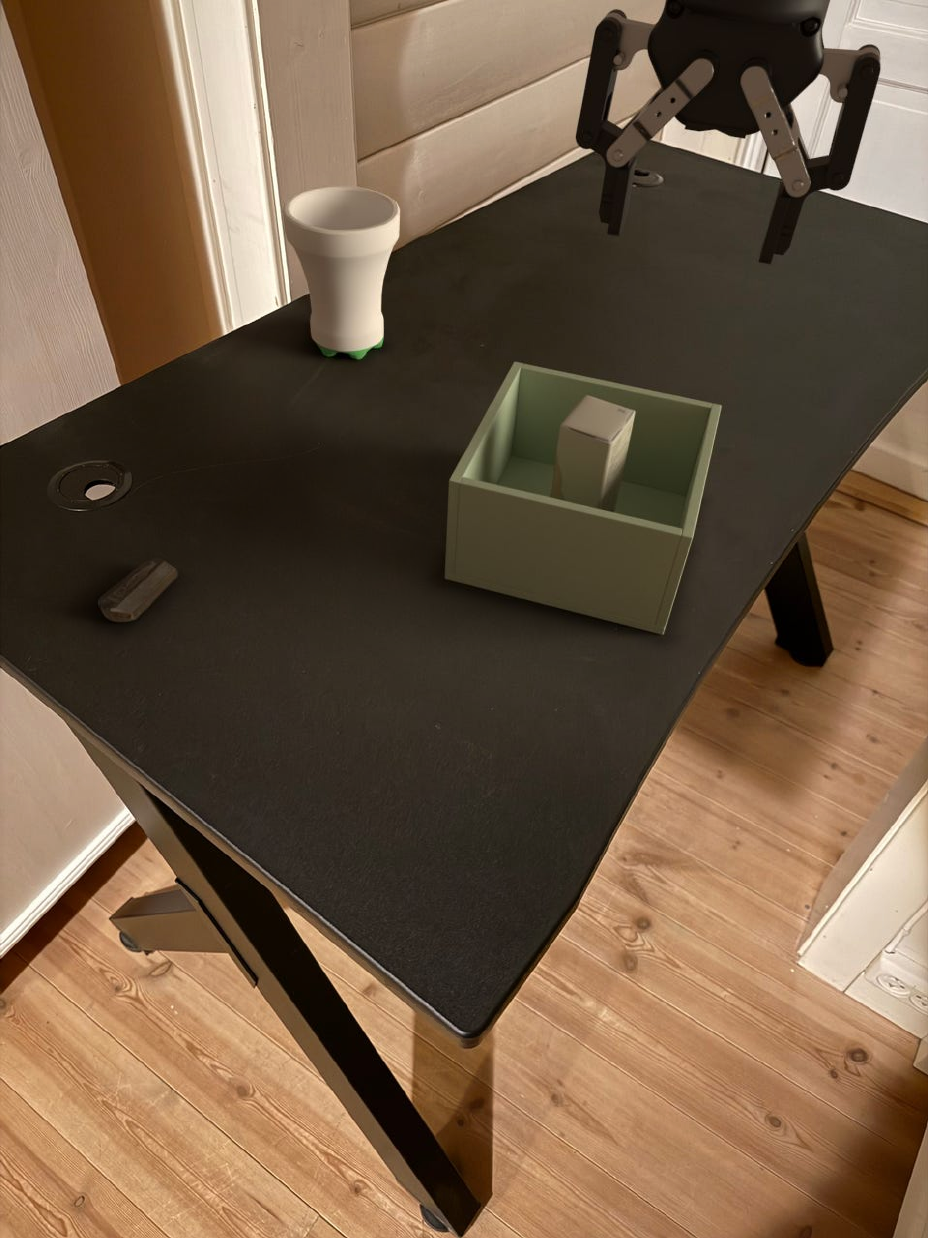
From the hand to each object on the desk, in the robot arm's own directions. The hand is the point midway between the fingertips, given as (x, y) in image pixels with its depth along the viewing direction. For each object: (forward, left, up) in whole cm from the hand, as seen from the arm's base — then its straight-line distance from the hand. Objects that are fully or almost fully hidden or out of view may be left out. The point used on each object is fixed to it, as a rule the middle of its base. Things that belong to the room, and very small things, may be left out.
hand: (690, 244), depth 51 cm
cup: (+34, -28, -28) cm, 52 cm away
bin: (+4, -6, -28) cm, 29 cm away
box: (+4, -6, -28) cm, 28 cm away
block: (+34, +13, -28) cm, 46 cm away
